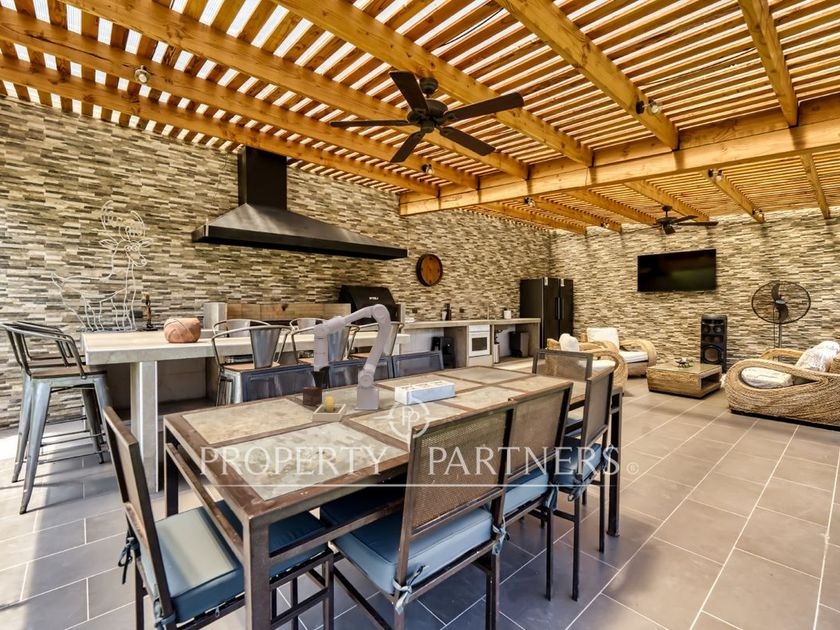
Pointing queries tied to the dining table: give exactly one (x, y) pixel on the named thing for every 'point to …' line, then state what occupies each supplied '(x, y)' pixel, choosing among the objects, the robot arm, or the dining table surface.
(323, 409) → the socket plate
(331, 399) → the peg
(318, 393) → the box
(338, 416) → the tray
